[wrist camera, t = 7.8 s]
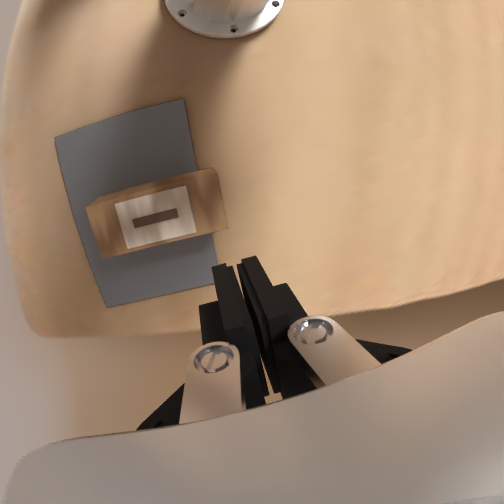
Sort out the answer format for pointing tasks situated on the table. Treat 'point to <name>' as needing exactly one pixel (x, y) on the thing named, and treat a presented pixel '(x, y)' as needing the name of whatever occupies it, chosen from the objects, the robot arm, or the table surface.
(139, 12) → the table surface
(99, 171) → the charcoal mat
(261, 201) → the table surface
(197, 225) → the cardboard box
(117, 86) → the table surface
